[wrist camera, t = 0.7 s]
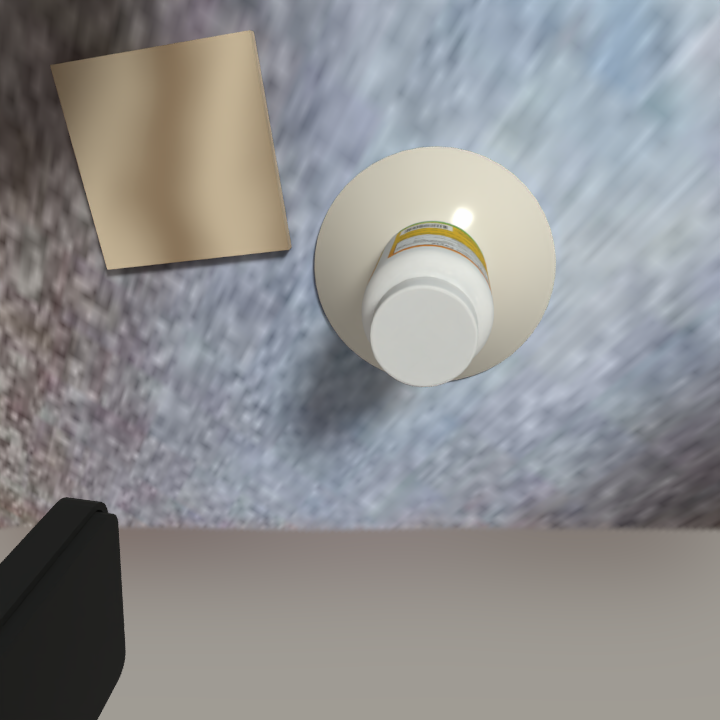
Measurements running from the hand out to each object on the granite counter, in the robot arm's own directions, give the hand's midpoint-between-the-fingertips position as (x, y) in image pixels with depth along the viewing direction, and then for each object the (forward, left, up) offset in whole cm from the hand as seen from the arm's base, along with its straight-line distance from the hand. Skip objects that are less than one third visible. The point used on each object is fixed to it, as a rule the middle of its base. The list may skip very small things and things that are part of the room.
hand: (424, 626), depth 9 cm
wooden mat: (+13, -6, -25) cm, 29 cm away
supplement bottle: (+1, +1, -25) cm, 25 cm away
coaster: (+1, +1, -25) cm, 25 cm away
